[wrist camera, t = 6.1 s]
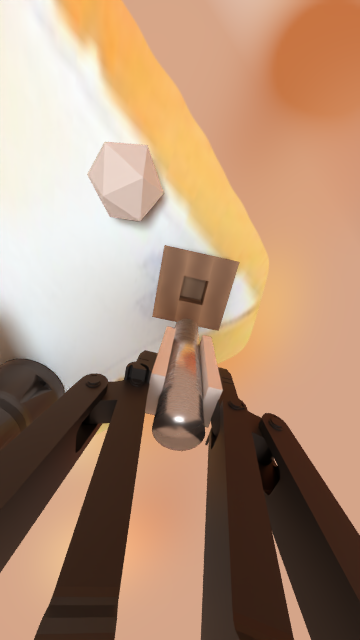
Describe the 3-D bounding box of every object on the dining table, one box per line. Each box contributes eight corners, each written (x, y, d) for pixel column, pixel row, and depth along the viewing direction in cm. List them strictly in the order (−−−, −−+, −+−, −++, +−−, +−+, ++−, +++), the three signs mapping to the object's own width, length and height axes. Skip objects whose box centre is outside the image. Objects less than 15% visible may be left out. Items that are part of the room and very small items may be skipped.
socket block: (156, 308, 36) (152, 316, 31) (168, 246, 32) (164, 245, 27) (214, 320, 36) (218, 330, 31) (231, 260, 32) (239, 262, 28)
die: (110, 150, 29) (58, 166, 23) (158, 121, 24) (107, 132, 18) (137, 211, 34) (100, 237, 28) (180, 197, 29) (146, 225, 23)
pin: (172, 336, 20) (147, 444, 9) (177, 316, 20) (157, 405, 8) (194, 342, 20) (197, 455, 9) (200, 321, 20) (211, 418, 8)
